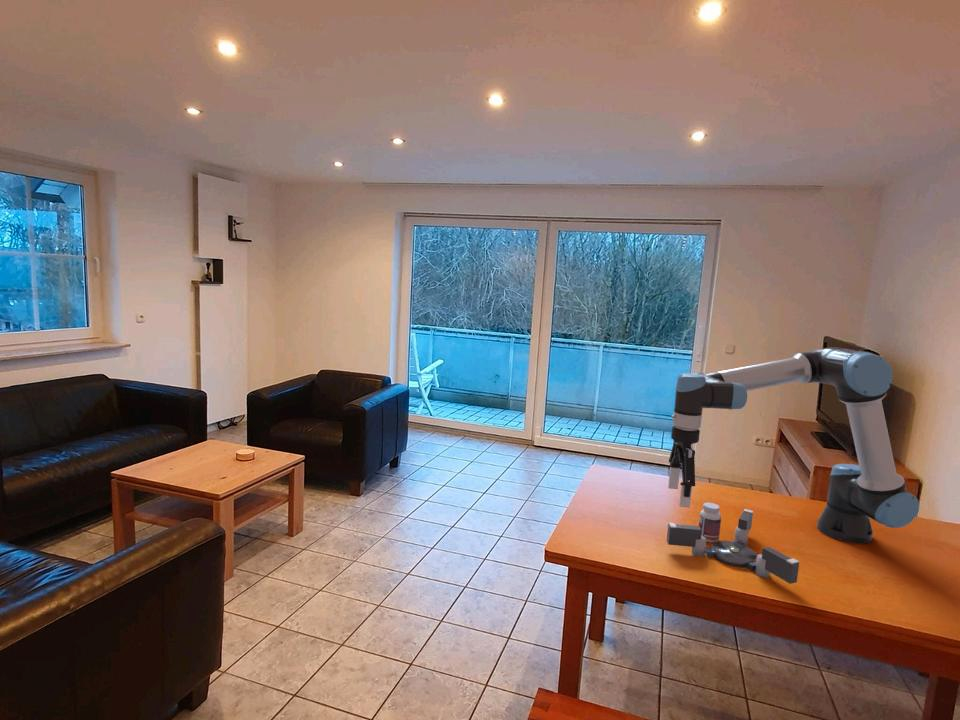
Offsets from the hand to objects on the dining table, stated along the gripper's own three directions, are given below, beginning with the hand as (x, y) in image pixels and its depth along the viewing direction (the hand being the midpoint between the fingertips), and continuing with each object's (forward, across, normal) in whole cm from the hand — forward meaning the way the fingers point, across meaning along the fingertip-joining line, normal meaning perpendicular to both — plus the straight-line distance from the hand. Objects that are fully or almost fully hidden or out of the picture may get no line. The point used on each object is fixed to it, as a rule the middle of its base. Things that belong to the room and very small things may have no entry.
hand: (678, 497), depth 157 cm
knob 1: (+17, -12, +24) cm, 32 cm away
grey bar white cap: (+17, +12, +24) cm, 32 cm away
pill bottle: (+17, -11, +13) cm, 24 cm away
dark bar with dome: (+17, 0, +4) cm, 17 cm away
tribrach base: (+17, 0, +17) cm, 24 cm away
